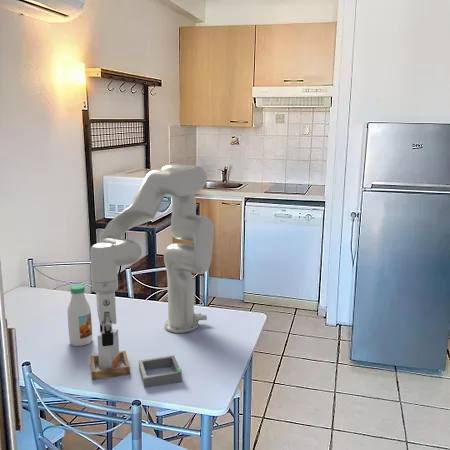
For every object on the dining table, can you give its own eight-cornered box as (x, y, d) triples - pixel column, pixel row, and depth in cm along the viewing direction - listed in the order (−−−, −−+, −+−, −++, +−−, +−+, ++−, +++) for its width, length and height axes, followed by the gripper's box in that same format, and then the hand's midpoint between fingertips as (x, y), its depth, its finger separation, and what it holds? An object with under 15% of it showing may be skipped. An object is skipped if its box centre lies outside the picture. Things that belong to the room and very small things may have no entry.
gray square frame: (174, 364, 152) (174, 352, 151) (182, 381, 141) (182, 369, 140) (139, 369, 148) (138, 357, 147) (144, 388, 138) (143, 375, 137)
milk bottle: (71, 348, 162) (67, 292, 158) (67, 339, 169) (63, 285, 165) (94, 343, 166) (91, 288, 161) (90, 335, 172) (86, 281, 168)
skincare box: (112, 374, 146) (110, 337, 143) (99, 372, 147) (96, 336, 144) (120, 364, 152) (118, 328, 149) (107, 363, 152) (105, 327, 150)
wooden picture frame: (125, 357, 156) (125, 350, 155) (129, 374, 146) (129, 366, 145) (90, 362, 153) (90, 355, 152) (92, 380, 142) (91, 372, 142)
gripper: (120, 292, 136) (122, 349, 139) (115, 275, 152) (116, 326, 156) (93, 295, 134) (95, 352, 137) (90, 277, 150) (92, 329, 153)
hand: (106, 338), depth 146 cm, fingers open, 9 cm apart
